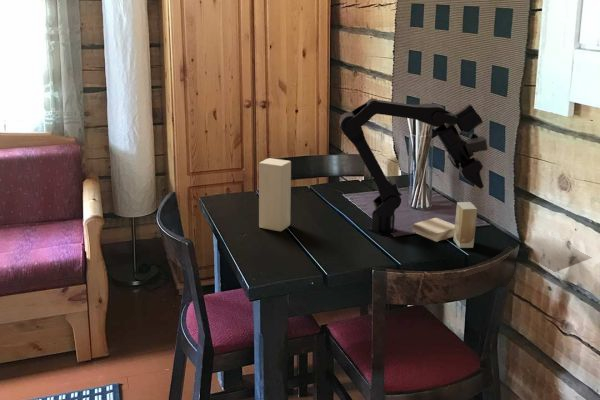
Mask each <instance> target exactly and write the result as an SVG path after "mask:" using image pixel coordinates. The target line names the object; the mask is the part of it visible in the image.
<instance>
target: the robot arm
mask: <svg viewBox="0 0 600 400" xmlns="http://www.w3.org/2000/svg"><path fill="white" fill-rule="evenodd" d="M375 115H384V116H391V117H396V118H397V117H398V118H405V119H412V120H417V121H419V122H421V123H423V124H426V125H429V126H432V127H430V131H429V133H428V135H429V138H430V139H434V138H436V137H437V138H438V140H439V141H440V144H441V145H442V146H443V149H444V150H445V151H446V153H447V159H448V160H449V162H450V164H452V165H453V167H454V168H456V169H457V170H458V172H459V173H460V174H461V176H462V177H463V178H464V179H466V180H467V181H468V182H470V183H471V184H473V185H474V186H475V187H477V188H478V189H480V190H481V189H483V188H484V183H483V180H482V176H481V170H482V169H483V167H484V165H483V163H482V161H480V160H479V159H478V158H477V157H474V155H475V154H474V153H478V152H482V151H483V152H484V151H488V141H487V138H485V136H482V135H479V136H478V135H477V134H476V133H475V132H473V133H470V132H471V131H473V130H474V129H476V128H477V127H479V126H481V125H482V124H484V121H483V120H482V118H481V116H480V114H478V113H477V111H476V110H475V108H474V107H473V105H472V104H470V103H468V104H467V105H466V106H464V107H463V108H462V109H461V110H459V111H457V112H455V113H454V112H452V111H449V110H446V109H445V108H444V107H443V106H442V105H441V104H439V103H421V104H410V103H403V102H396V101H390V100H388V101H387V100H383V99H382V100H381V99H377V98H369V99H368V100H367V101H366V102H365V103H363V104H361V105H359V106H357V107H356V108H354V109H353V110H352V111H348V112H344V113H343V114H342V115H341V116H340V119H339V125H340V129H341V132H342V133H343V134H344V135H345V137H346V138H347V139H348V140H349V141H350V142H351V143H352V144H353V146H354V147H355V148H356V151H357V152H358V154H359V156H360V158H361V159H362V161H363V163H364V165H365V166H366V168H367V170H368V172H369V174H370V176H371V177H372V179H373V181H374V184H375V185H376V188H377V191H378V196H376V198H374V199H373V200H372V205H373V206H374V210H373V211H372V214H371V215H372V217H371V226H369V227H368V230H369V231H372V232H373V233H377V234H378V235H381V236H384V235H387V234H390V233H395V232H397V231H398V229H397V228H396V227H395V220H396V215H395V212H396V210H398V208H399V207H400V206H401V204H402V198H401V196H403V194H402V193H401V190H400V188H399V187H398V186H397V184H396V181H395V179H394V178H391V179H390V180H389V178H388V177H387V176H386V174H385V172H384V171H383V169H382V167H381V165H380V164H379V162H378V160H377V158H376V156H375V155H374V152H373V151H372V148H371V147H370V145H369V143H368V142H367V140H366V137H365V134H364V131H363V127H364V125H366V123H367V122H369V121H370V120H371V119H372V118H373V117H374V116H375ZM455 125H456V126H455ZM362 126H363V127H362ZM456 127H457V128H456ZM458 130H459V131H460V132H459V131H458ZM460 133H465V134H468V133H470V134H469V137H468V138H467V139H466V140H464V138H463V137H462V136H461V135H460Z"/></svg>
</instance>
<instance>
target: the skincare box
mask: <svg viewBox="0 0 600 400" xmlns="http://www.w3.org/2000/svg"><path fill="white" fill-rule="evenodd" d="M477 216H478V208H477V207H476V206H475V205H474V204H473V203H472V201H457V202H456V211H455V219H454V225H455V230H454V237H453V242H454V243H455V244H456V246H457V247H458V248H459V249H470V248H471V249H473V248H474V245H475V236H476V235H475V234H476V226H477Z"/></svg>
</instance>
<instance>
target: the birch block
mask: <svg viewBox="0 0 600 400" xmlns="http://www.w3.org/2000/svg"><path fill="white" fill-rule="evenodd" d="M454 230H455V223H451V222H449V221H446V220H443V219H442V218H439V217H433V218H430V219H427V220H426V219H425V220H422V221H418V222H415V223H412V233H415V232H416V233H415V234H417V235H420V236H422V237H424V238H426V239H429V240H431V241H434V242H439V241H440V242H441V241H444V240H446V239H450V238H454Z"/></svg>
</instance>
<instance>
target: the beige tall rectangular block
mask: <svg viewBox="0 0 600 400" xmlns="http://www.w3.org/2000/svg"><path fill="white" fill-rule="evenodd" d="M291 182H292V161H291V160H287V159H286V160H285V159H280V158H279V159H278V158H272V157H269V158H265V159H264V160H262V161H260V162H259V163H258V227H259V228H260V229H261V228H262V229H265V230H270V231H276V232H282V231H284V230H286V229H287V228H288V227H289V226H291V202H292V201H291V199H292V198H291V189H292V186H291V185H292V183H291Z"/></svg>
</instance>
